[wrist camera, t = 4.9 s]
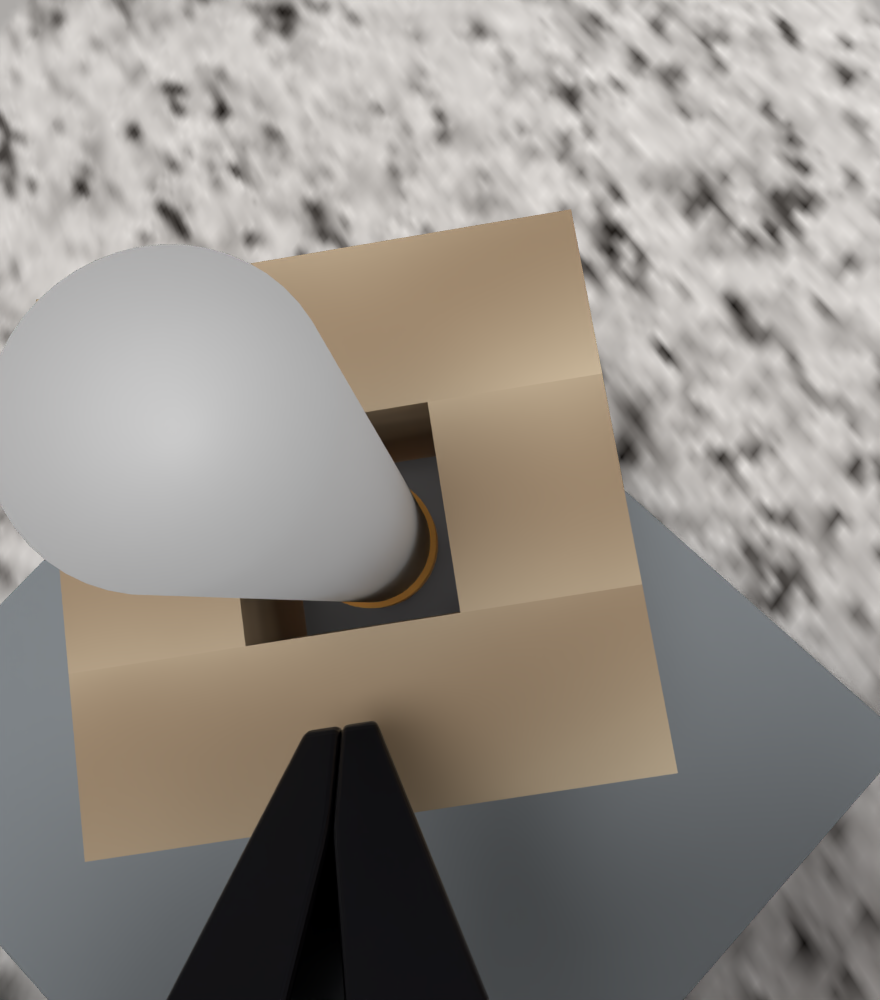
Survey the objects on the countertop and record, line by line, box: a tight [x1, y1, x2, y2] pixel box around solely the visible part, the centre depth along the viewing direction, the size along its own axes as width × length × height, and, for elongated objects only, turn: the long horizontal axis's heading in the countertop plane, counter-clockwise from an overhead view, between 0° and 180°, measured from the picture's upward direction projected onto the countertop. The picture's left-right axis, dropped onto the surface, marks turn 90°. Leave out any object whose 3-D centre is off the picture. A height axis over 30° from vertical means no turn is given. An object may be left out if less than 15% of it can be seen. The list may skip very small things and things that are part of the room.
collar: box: [36, 210, 678, 862], centre depth 13 cm, size 8×8×4 cm
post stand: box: [0, 244, 880, 1000], centre depth 11 cm, size 16×16×14 cm
